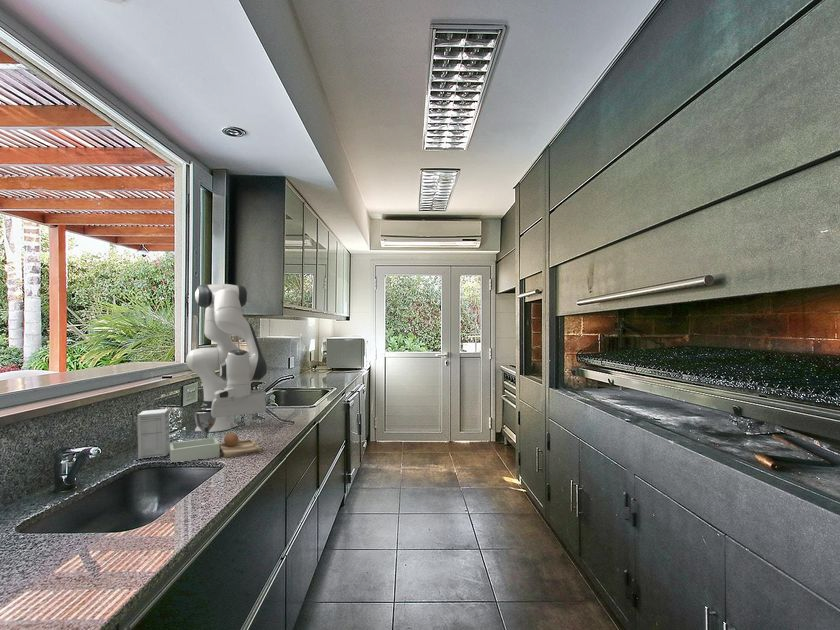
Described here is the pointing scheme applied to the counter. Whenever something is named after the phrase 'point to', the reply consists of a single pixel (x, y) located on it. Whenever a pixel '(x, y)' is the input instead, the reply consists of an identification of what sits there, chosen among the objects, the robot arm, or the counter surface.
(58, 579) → the counter surface
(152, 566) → the counter surface
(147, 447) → the supplement box
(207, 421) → the wine glass
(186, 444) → the bin
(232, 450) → the tray
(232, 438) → the egg
